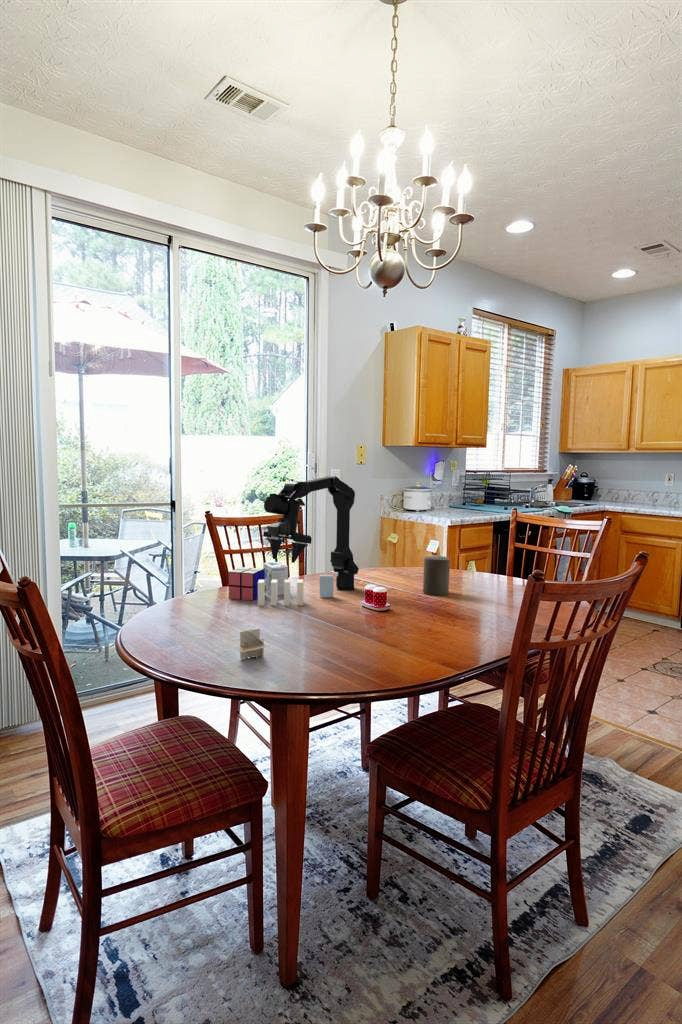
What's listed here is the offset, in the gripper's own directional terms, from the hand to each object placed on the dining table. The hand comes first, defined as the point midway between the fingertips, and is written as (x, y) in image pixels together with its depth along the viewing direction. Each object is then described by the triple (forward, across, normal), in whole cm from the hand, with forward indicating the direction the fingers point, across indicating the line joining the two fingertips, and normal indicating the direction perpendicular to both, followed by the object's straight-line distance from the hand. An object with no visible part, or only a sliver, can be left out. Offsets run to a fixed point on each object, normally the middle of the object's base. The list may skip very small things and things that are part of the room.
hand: (283, 560), depth 204 cm
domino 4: (+14, +6, +6) cm, 16 cm away
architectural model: (+24, +35, -42) cm, 60 cm away
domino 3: (+15, +2, +3) cm, 15 cm away
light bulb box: (+13, -13, +12) cm, 22 cm away
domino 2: (+15, -1, 0) cm, 15 cm away
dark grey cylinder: (+4, +33, +51) cm, 61 cm away
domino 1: (+16, -4, -3) cm, 17 cm away
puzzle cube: (+16, -16, 0) cm, 22 cm away
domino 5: (+11, +6, +19) cm, 23 cm away
